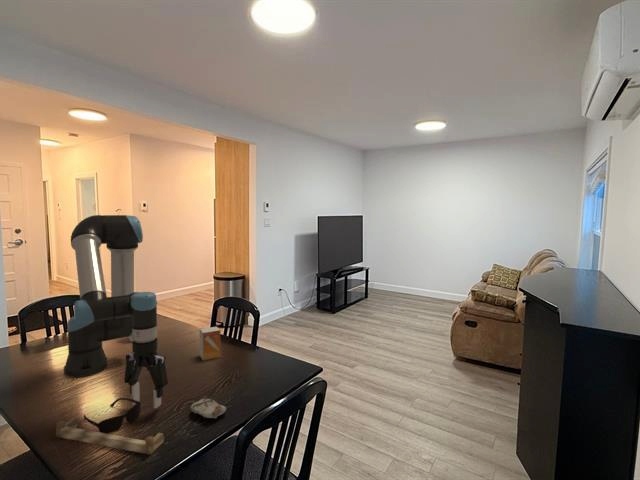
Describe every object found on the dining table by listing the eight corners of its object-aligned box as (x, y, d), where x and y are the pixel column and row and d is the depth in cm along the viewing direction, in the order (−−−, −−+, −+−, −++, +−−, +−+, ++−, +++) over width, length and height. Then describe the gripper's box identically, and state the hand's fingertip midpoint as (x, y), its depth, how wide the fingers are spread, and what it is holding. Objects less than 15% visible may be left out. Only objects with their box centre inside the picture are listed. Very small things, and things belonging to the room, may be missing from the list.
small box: (203, 361, 154) (202, 332, 153) (199, 356, 159) (199, 329, 158) (220, 357, 159) (220, 329, 158) (216, 352, 164) (216, 326, 163)
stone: (184, 412, 113) (184, 402, 113) (207, 402, 120) (207, 392, 120) (208, 424, 106) (208, 414, 106) (230, 412, 114) (231, 402, 114)
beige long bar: (55, 437, 101) (54, 424, 100) (73, 425, 106) (72, 413, 106) (150, 455, 93) (150, 441, 93) (164, 441, 99) (164, 428, 99)
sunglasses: (103, 440, 100) (102, 423, 100) (74, 424, 107) (73, 409, 107) (146, 416, 112) (145, 402, 112) (117, 403, 119) (116, 389, 119)
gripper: (109, 340, 113) (112, 406, 114) (164, 345, 108) (166, 414, 110) (127, 332, 120) (129, 395, 122) (179, 337, 116) (180, 402, 117)
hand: (146, 404), depth 116 cm, fingers open, 8 cm apart
